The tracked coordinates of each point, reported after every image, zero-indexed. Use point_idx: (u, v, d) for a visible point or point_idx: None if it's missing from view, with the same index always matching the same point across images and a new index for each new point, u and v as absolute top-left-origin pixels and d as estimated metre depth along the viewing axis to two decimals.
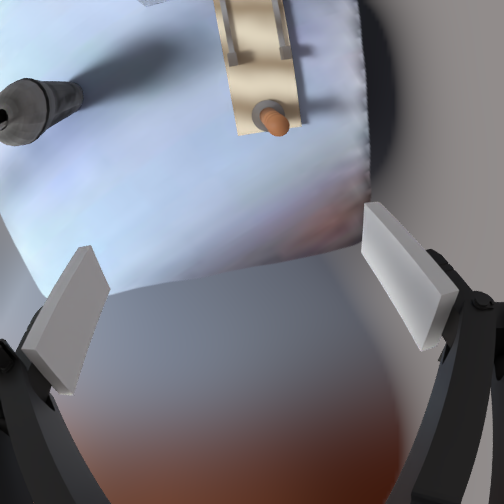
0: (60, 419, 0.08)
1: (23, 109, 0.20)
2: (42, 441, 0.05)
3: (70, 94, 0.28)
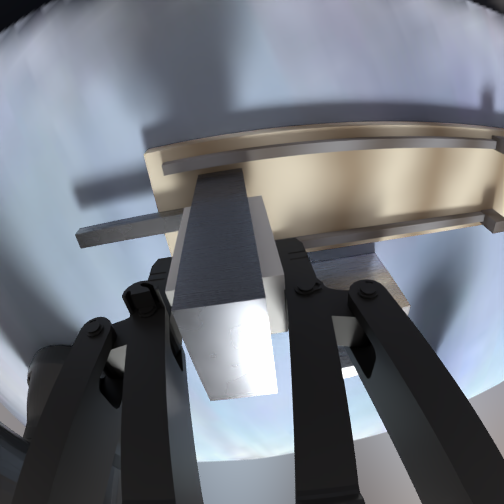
0: (185, 381, 0.09)
1: None
2: (163, 411, 0.06)
3: None
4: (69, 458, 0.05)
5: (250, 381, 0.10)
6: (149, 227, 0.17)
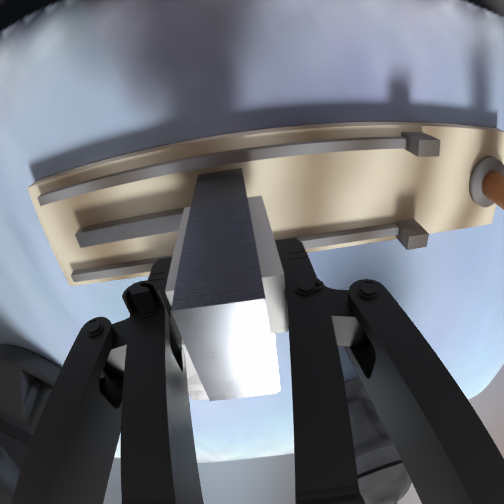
0: (185, 381, 0.09)
1: (393, 492, 0.19)
2: (163, 411, 0.06)
3: (366, 409, 0.27)
4: (69, 458, 0.05)
5: (250, 381, 0.10)
6: (148, 227, 0.17)
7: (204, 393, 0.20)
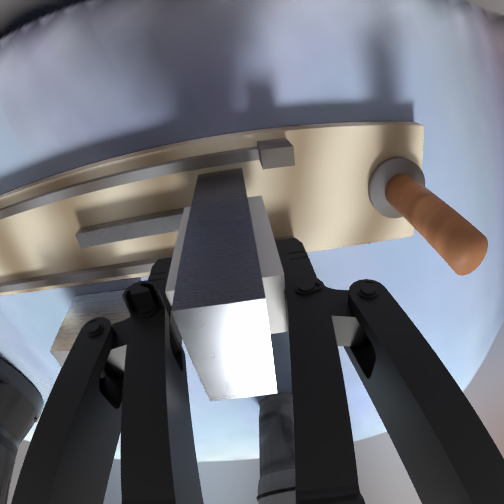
0: (185, 381, 0.09)
1: None
2: (163, 411, 0.06)
3: (283, 427, 0.27)
4: (69, 458, 0.05)
5: (250, 381, 0.10)
6: (149, 227, 0.17)
7: None
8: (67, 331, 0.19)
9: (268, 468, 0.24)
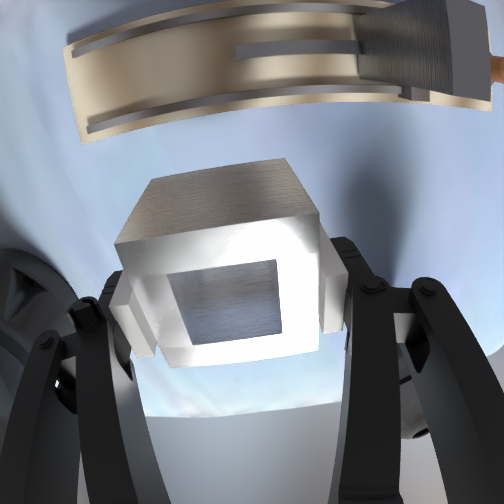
0: (136, 390, 0.09)
1: None
2: (114, 417, 0.06)
3: None
4: (36, 462, 0.05)
5: (478, 77, 0.09)
6: (313, 46, 0.16)
7: (189, 354, 0.12)
8: (151, 212, 0.11)
9: None
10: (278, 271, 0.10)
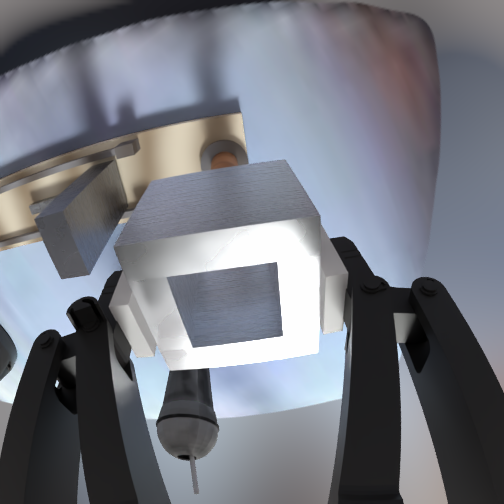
0: (136, 390, 0.09)
1: (181, 442, 0.27)
2: (115, 417, 0.06)
3: None
4: (37, 462, 0.05)
5: (73, 263, 0.17)
6: None
7: (189, 356, 0.12)
8: (151, 215, 0.11)
9: (166, 400, 0.32)
10: (279, 274, 0.10)
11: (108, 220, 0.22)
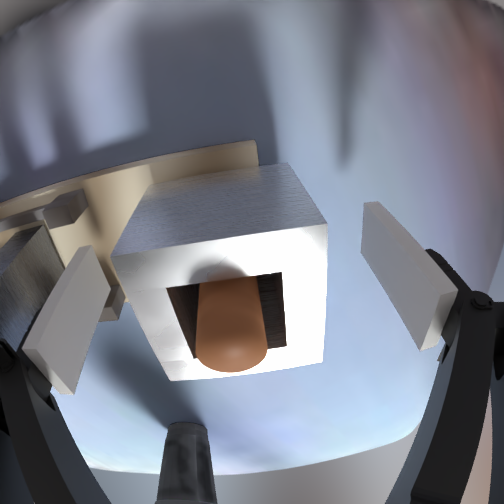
0: (61, 419, 0.08)
1: None
2: (43, 441, 0.05)
3: (179, 457, 0.25)
4: None
5: None
6: None
7: (190, 367, 0.12)
8: (149, 222, 0.10)
9: (160, 494, 0.22)
10: (283, 284, 0.10)
11: None
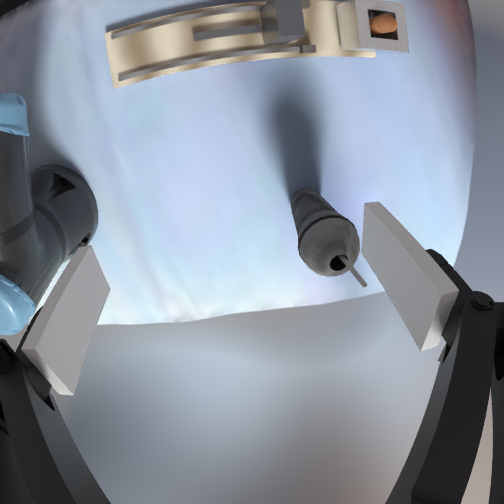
0: (60, 419, 0.08)
1: (338, 239, 0.31)
2: (42, 441, 0.05)
3: (312, 198, 0.40)
4: None
5: (295, 25, 0.22)
6: (235, 30, 0.29)
7: (369, 41, 0.26)
8: None
9: (305, 217, 0.36)
10: (395, 17, 0.24)
11: None
